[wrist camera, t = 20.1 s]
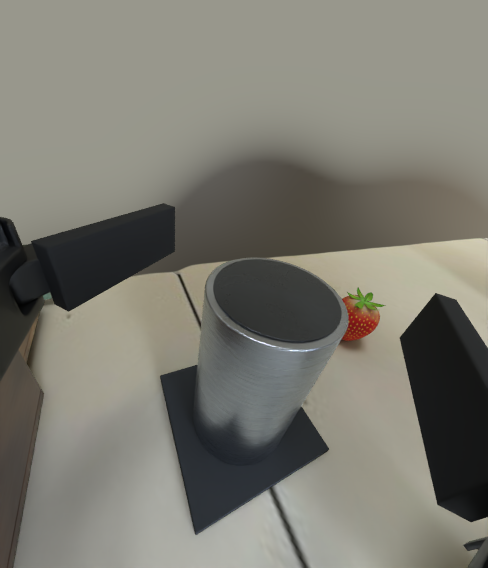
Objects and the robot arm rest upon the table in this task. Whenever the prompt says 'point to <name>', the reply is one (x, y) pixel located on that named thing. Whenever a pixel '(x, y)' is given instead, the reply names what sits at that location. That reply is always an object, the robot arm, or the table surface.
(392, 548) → the table surface
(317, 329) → the silver cylinder
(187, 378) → the mat
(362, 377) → the table surface
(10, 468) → the cabinet
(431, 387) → the robot arm
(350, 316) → the fruit
